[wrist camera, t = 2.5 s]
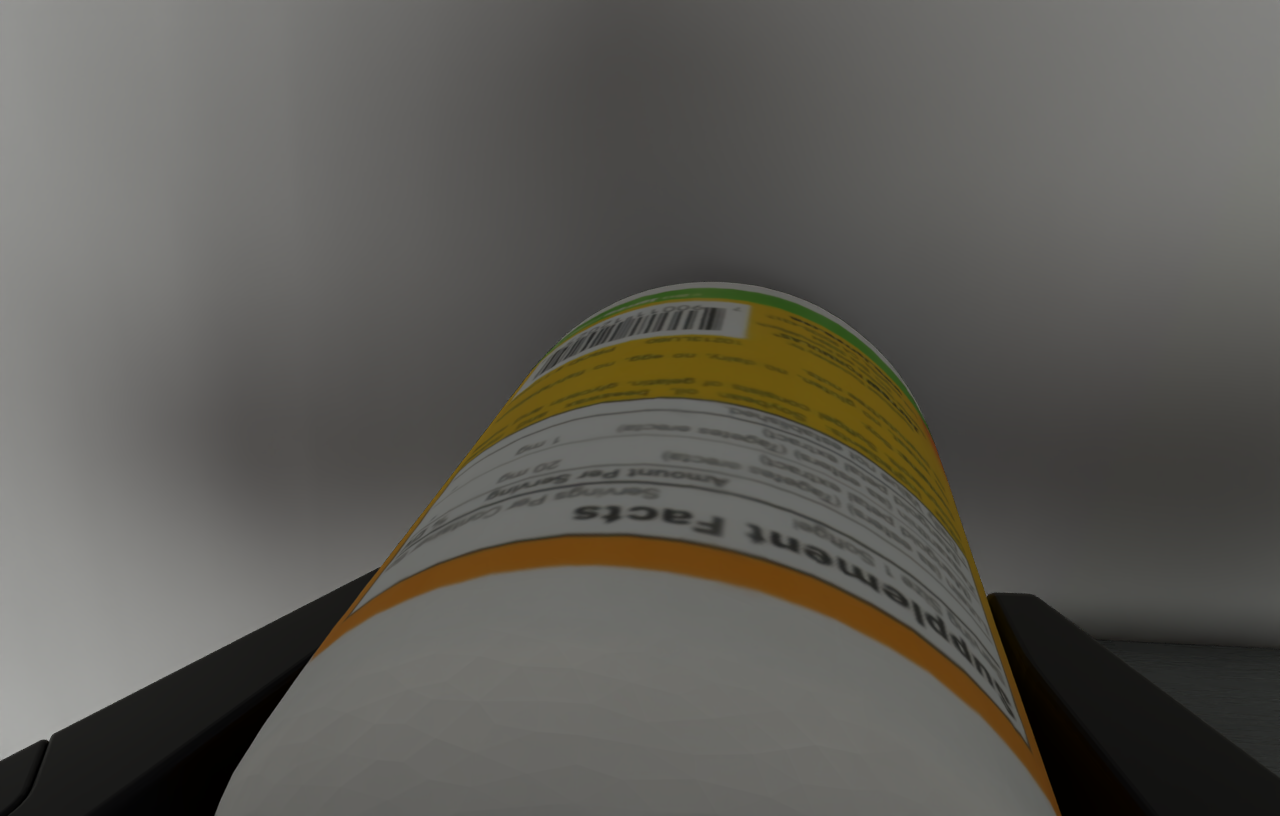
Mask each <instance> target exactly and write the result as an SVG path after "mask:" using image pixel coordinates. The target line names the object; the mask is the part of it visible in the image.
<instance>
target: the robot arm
mask: <svg viewBox="0 0 1280 816" xmlns="http://www.w3.org/2000/svg"><path fill="white" fill-rule="evenodd" d="M379 569H380V567H379V568H377V569H375V570H373V571H371V572H369V573H367V574H365V575H364V576H362V577H360V578H358V579H356V580H354V581H352V582H350V583H348V584H346V585H344V586H342V587H340V588H338V589H336V590H334V591H332V592H330V593H328V594H326V595H324V596H322V597H320V598H319V599H317V600H315V601H313V602H311V603H309V604H307V605H305V606H303V607H301V608H299V609H297V610H295V611H293V612H291V613H289V614H287V615H285V616H283V617H281V618H279V619H277V620H275V621H274V622H272V623H270V624H268V625H266V626H264V627H262V628H260V629H258V630H256V631H254V632H252V633H250V634H248V635H246V636H244V637H242V638H240V639H238V640H236V641H234V642H232V643H231V644H229V645H227V646H225V647H223V648H221V649H219V650H217V651H215V652H213V653H211V654H209V655H207V656H205V657H203V658H201V659H199V660H197V661H195V662H193V663H191V664H189V665H187V666H186V667H184V668H182V669H180V670H178V671H176V672H174V673H172V674H170V675H168V676H166V677H164V678H162V679H160V680H158V681H156V682H154V683H152V684H150V685H148V686H146V687H144V688H143V689H141V690H139V691H137V692H135V693H133V694H131V695H129V696H127V697H125V698H123V699H121V700H119V701H117V702H115V703H113V704H111V705H109V706H107V707H105V708H103V709H101V710H99V711H98V712H96V713H94V714H92V715H90V716H88V717H86V718H84V719H82V720H80V721H78V722H76V723H74V724H72V725H70V726H68V727H66V728H64V729H62V730H60V731H58V732H56V733H55V734H53V735H52V736H51V738H50V740H49V741H47V740H40V741H38V742H36V743H34V744H32V745H30V746H29V747H27V748H25V749H23V750H21V751H19V752H17V753H15V754H13V755H11V756H9V757H7V758H5V759H3V760H1V761H0V816H215V813H216V810H217V808H218V805H219V802H220V800H221V798H222V796H223V794H224V792H225V789H226V787H227V785H228V783H229V781H230V779H231V776H232V774H233V773H234V771H235V769H236V768H237V766H238V765H239V763H240V761H241V760H242V758H243V757H244V755H245V754H246V752H247V750H248V749H249V747H250V746H251V744H252V742H253V741H254V739H255V738H256V736H257V734H258V733H259V731H260V730H261V728H262V727H263V725H264V724H265V722H266V721H267V719H268V718H269V717H270V715H271V714H272V712H273V711H274V709H275V708H276V707H277V705H278V704H279V702H280V701H281V700H282V698H283V697H284V695H285V694H286V692H287V691H288V690H289V688H290V687H291V685H292V684H293V683H294V681H295V680H296V678H297V677H298V676H299V674H300V673H301V671H302V670H303V669H304V667H305V666H306V665H307V663H308V662H309V661H310V659H311V658H312V656H313V655H314V654H315V652H316V651H317V650H318V648H319V647H320V646H321V644H322V643H323V641H324V640H325V639H326V637H327V636H328V635H329V633H330V632H331V631H332V629H333V628H334V626H335V625H336V624H337V623H338V622H339V620H340V619H341V618H342V617H343V615H344V614H345V613H346V612H347V610H348V609H349V608H350V606H351V605H352V604H353V602H354V601H355V600H356V598H357V597H358V596H359V594H360V593H361V592H362V590H363V589H364V588H365V587H366V585H367V584H368V583H369V581H370V580H371V579H372V578H373V576H374V575H375V574H376V573H377V571H378V570H379ZM987 600H988V603H989V606H990V609H991V613H992V616H993V619H994V622H995V625H996V627H997V630H998V633H999V636H1000V639H1001V642H1002V645H1003V648H1004V651H1005V654H1006V657H1007V659H1008V662H1009V665H1010V668H1011V671H1012V674H1013V677H1014V680H1015V683H1016V685H1017V688H1018V691H1019V694H1020V697H1021V700H1022V703H1023V706H1024V709H1025V712H1026V714H1027V717H1028V720H1029V723H1030V726H1031V729H1032V732H1033V735H1034V738H1035V740H1036V743H1037V746H1038V749H1039V752H1040V755H1041V758H1042V761H1043V764H1044V766H1045V769H1046V772H1047V775H1048V778H1049V781H1050V784H1051V787H1052V790H1053V792H1054V795H1055V798H1056V801H1057V804H1058V807H1059V810H1060V813H1061V816H1280V777H1279V776H1278V775H1276V774H1275V773H1274V772H1272V771H1271V770H1270V769H1268V768H1267V767H1266V766H1264V765H1263V764H1262V763H1260V762H1259V761H1258V760H1256V759H1255V758H1254V757H1252V756H1251V755H1250V754H1248V753H1247V752H1245V751H1244V750H1243V749H1241V748H1240V747H1239V746H1237V745H1236V744H1235V743H1233V742H1232V741H1231V740H1229V739H1228V738H1227V737H1225V736H1224V735H1223V734H1221V733H1220V732H1219V731H1217V730H1216V729H1215V728H1213V727H1212V726H1211V725H1209V724H1208V723H1207V722H1205V721H1204V720H1202V719H1201V718H1200V717H1198V716H1197V715H1196V714H1194V713H1193V712H1192V711H1190V710H1189V709H1188V708H1186V707H1185V706H1184V705H1182V704H1181V703H1180V702H1178V701H1177V700H1176V699H1174V698H1173V697H1172V696H1170V695H1169V694H1168V693H1166V692H1165V691H1163V690H1162V689H1161V688H1159V687H1158V686H1157V685H1155V684H1154V683H1153V682H1151V681H1150V680H1149V679H1147V678H1146V677H1145V676H1143V675H1142V674H1141V673H1139V672H1138V671H1137V670H1135V669H1134V668H1133V667H1131V666H1130V665H1129V664H1127V663H1126V662H1125V661H1123V660H1122V659H1120V658H1119V657H1118V656H1116V655H1115V654H1114V653H1112V652H1111V651H1110V650H1108V649H1107V648H1106V647H1104V646H1103V645H1102V644H1100V643H1099V642H1098V641H1096V640H1095V639H1094V638H1092V637H1091V636H1090V635H1088V634H1087V633H1086V632H1084V631H1083V630H1081V629H1080V628H1079V627H1077V626H1076V625H1075V624H1073V623H1072V622H1071V621H1069V620H1068V619H1067V618H1065V617H1064V616H1063V615H1061V614H1060V613H1059V612H1057V611H1056V610H1055V609H1053V608H1052V607H1051V606H1049V605H1048V604H1047V603H1045V602H1044V601H1043V600H1041V599H1040V598H1038V597H1036V596H1035V595H1032V594H1022V593H997V592H996V593H991V594H989V595H988V596H987Z"/></svg>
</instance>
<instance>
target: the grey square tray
mask: <svg viewBox="0 0 1280 816" xmlns="http://www.w3.org/2000/svg"><path fill="white" fill-rule="evenodd" d="M1096 641H1098V642H1099V643H1100V644H1102V645H1103V646H1104V647H1106V648H1107V649H1108V650H1110V651H1111V652H1112V653H1114V654H1115V655H1116V656H1118V657H1119V658H1120V659H1122V660H1123V661H1125V662H1126V663H1127V664H1129V665H1130V666H1131V667H1133V668H1134V669H1135V670H1137V671H1138V672H1139V673H1141V674H1142V675H1143V676H1145V677H1146V678H1147V679H1149V680H1150V681H1151V682H1153V683H1154V684H1155V685H1157V686H1158V687H1159V688H1161V689H1162V690H1163V691H1165V692H1166V693H1168V694H1169V695H1170V696H1172V697H1173V698H1174V699H1176V700H1177V701H1178V702H1180V703H1181V704H1182V705H1184V706H1185V707H1186V708H1188V709H1189V710H1190V711H1192V712H1193V713H1194V714H1196V715H1197V716H1198V717H1200V718H1201V719H1202V720H1204V721H1205V722H1207V723H1208V724H1209V725H1211V726H1212V727H1213V728H1215V729H1216V730H1217V731H1219V732H1220V733H1221V734H1223V735H1224V736H1225V737H1227V738H1228V739H1229V740H1231V741H1232V742H1233V743H1235V744H1236V745H1237V746H1239V747H1240V748H1241V749H1243V750H1244V751H1245V752H1247V753H1248V754H1250V755H1251V756H1252V757H1254V758H1255V759H1256V760H1258V761H1259V762H1260V763H1262V764H1263V765H1264V766H1266V767H1267V768H1268V769H1270V770H1271V771H1272V772H1274V773H1275V774H1276V775H1278V776H1279V777H1280V649H1269V648H1248V647H1228V646H1207V645H1187V644H1166V643H1146V642H1126V641H1105V640H1096Z"/></svg>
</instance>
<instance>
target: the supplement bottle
mask: <svg viewBox="0 0 1280 816" xmlns="http://www.w3.org/2000/svg"><path fill="white" fill-rule="evenodd" d="M215 816H1061V813H1060V810H1059V807H1058V804H1057V801H1056V798H1055V795H1054V792H1053V790H1052V787H1051V784H1050V781H1049V778H1048V775H1047V772H1046V769H1045V766H1044V764H1043V761H1042V758H1041V755H1040V752H1039V749H1038V746H1037V743H1036V740H1035V738H1034V735H1033V732H1032V729H1031V726H1030V723H1029V720H1028V717H1027V714H1026V712H1025V709H1024V706H1023V703H1022V700H1021V697H1020V694H1019V691H1018V688H1017V685H1016V683H1015V680H1014V677H1013V674H1012V671H1011V668H1010V665H1009V662H1008V659H1007V657H1006V654H1005V651H1004V648H1003V645H1002V642H1001V639H1000V636H999V633H998V630H997V627H996V625H995V622H994V619H993V616H992V613H991V609H990V606H989V603H988V600H987V597H986V594H985V591H984V588H983V585H982V582H981V579H980V576H979V573H978V570H977V567H976V565H975V562H974V559H973V556H972V553H971V550H970V547H969V544H968V541H967V538H966V535H965V532H964V529H963V526H962V523H961V520H960V517H959V514H958V511H957V508H956V505H955V502H954V498H953V495H952V492H951V489H950V486H949V483H948V480H947V477H946V475H945V472H944V469H943V466H942V463H941V460H940V458H939V455H938V452H937V449H936V446H935V443H934V441H933V438H932V436H931V433H930V431H929V428H928V426H927V424H926V422H925V419H924V417H923V415H922V412H921V410H920V407H919V406H918V404H917V402H916V400H915V398H914V397H913V395H912V393H911V392H910V390H909V388H908V387H907V385H906V384H905V382H904V381H903V379H902V378H901V376H900V375H899V373H898V372H897V371H896V370H895V369H894V367H893V366H892V365H891V364H890V362H889V361H888V360H887V359H886V358H885V357H884V356H883V355H882V354H881V353H880V352H879V351H878V350H877V349H876V348H875V347H874V346H873V345H872V344H871V343H870V342H869V341H868V340H866V339H865V338H864V337H863V336H862V335H860V334H859V333H858V332H857V331H856V330H854V329H853V328H852V327H850V326H849V325H848V324H846V323H845V322H844V321H842V320H841V319H839V318H837V317H836V316H834V315H832V314H831V313H829V312H827V311H826V310H824V309H822V308H820V307H818V306H816V305H814V304H812V303H810V302H808V301H805V300H803V299H800V298H797V297H795V296H792V295H790V294H787V293H783V292H780V291H776V290H772V289H768V288H764V287H760V286H754V285H748V284H740V283H729V282H693V283H683V284H676V285H669V286H664V287H659V288H655V289H650V290H647V291H644V292H641V293H638V294H634V295H632V296H629V297H627V298H624V299H622V300H619V301H617V302H615V303H613V304H612V305H610V306H608V307H606V308H604V309H602V310H600V311H598V312H597V313H595V314H594V315H592V316H590V317H589V318H587V319H586V320H584V321H583V322H581V323H580V324H579V325H577V326H576V327H574V328H573V329H572V330H571V331H570V332H569V333H567V334H566V335H565V336H564V337H563V338H562V339H561V340H560V341H559V342H558V343H557V344H556V345H555V346H554V347H553V348H552V349H551V350H550V351H549V352H548V353H547V354H546V355H545V356H544V357H543V358H542V359H541V360H540V362H539V363H538V364H537V365H536V366H535V367H534V368H533V369H532V371H531V372H530V373H529V375H528V376H527V377H526V378H525V380H524V381H523V382H522V384H521V385H520V386H519V387H518V389H517V390H516V391H515V393H514V394H513V395H512V396H511V398H510V399H509V400H508V402H507V403H506V404H505V406H504V407H503V408H502V410H501V411H500V412H499V414H498V415H497V416H496V418H495V419H494V420H493V422H492V423H491V424H490V426H489V427H488V428H487V429H486V431H485V432H484V433H483V435H482V436H481V437H480V439H479V440H478V441H477V443H476V444H475V445H474V447H473V448H472V449H471V450H470V452H469V453H468V454H467V456H466V457H465V458H464V460H463V461H462V462H461V463H460V465H459V466H458V467H457V469H456V470H455V471H454V473H453V474H452V475H451V477H450V478H449V479H448V480H447V482H446V483H445V484H444V486H443V487H442V488H441V490H440V491H439V492H438V493H437V495H436V496H435V497H434V499H433V500H432V501H431V503H430V504H429V505H428V506H427V508H426V509H425V510H424V512H423V513H422V514H421V515H420V517H419V518H418V519H417V521H416V522H415V523H414V525H413V526H412V527H411V528H410V530H409V531H408V532H407V534H406V535H405V536H404V538H403V539H402V540H401V541H400V543H399V544H398V545H397V547H396V548H395V549H394V551H393V552H392V553H391V554H390V556H389V557H388V558H387V560H386V561H385V562H384V564H383V565H382V566H381V567H380V569H379V570H378V571H377V573H376V574H375V575H374V576H373V578H372V579H371V580H370V581H369V583H368V584H367V585H366V587H365V588H364V589H363V590H362V592H361V593H360V594H359V596H358V597H357V598H356V600H355V601H354V602H353V604H352V605H351V606H350V608H349V609H348V610H347V612H346V613H345V614H344V615H343V617H342V618H341V619H340V620H339V622H338V623H337V624H336V625H335V626H334V628H333V629H332V631H331V632H330V633H329V635H328V636H327V637H326V639H325V640H324V641H323V643H322V644H321V646H320V647H319V648H318V650H317V651H316V652H315V654H314V655H313V656H312V658H311V659H310V661H309V662H308V663H307V665H306V666H305V667H304V669H303V670H302V671H301V673H300V674H299V676H298V677H297V678H296V680H295V681H294V683H293V684H292V685H291V687H290V688H289V690H288V691H287V692H286V694H285V695H284V697H283V698H282V700H281V701H280V702H279V704H278V705H277V707H276V708H275V709H274V711H273V712H272V714H271V715H270V717H269V718H268V719H267V721H266V722H265V724H264V725H263V727H262V728H261V730H260V731H259V733H258V734H257V736H256V738H255V739H254V741H253V742H252V744H251V746H250V747H249V749H248V750H247V752H246V754H245V755H244V757H243V758H242V760H241V761H240V763H239V765H238V766H237V768H236V769H235V771H234V773H233V774H232V776H231V779H230V781H229V783H228V785H227V787H226V789H225V792H224V794H223V796H222V798H221V800H220V802H219V805H218V808H217V810H216V813H215Z"/></svg>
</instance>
